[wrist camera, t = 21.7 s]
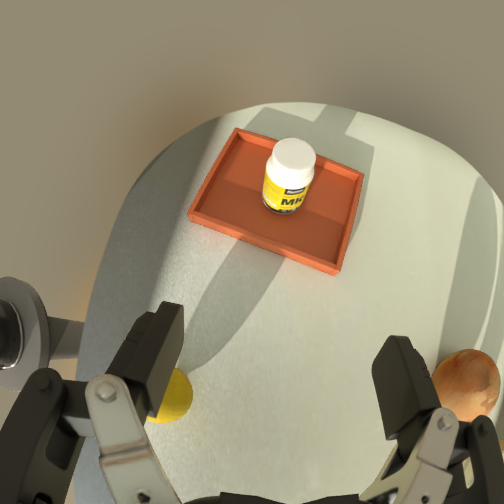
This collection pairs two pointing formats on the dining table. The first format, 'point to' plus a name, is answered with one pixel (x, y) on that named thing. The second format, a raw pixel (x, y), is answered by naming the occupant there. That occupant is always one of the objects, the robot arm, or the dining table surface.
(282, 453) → the dining table surface
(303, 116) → the dining table surface
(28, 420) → the robot arm
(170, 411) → the lemon
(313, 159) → the supplement bottle
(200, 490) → the dining table surface
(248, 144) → the tray
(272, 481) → the dining table surface
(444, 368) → the onion
